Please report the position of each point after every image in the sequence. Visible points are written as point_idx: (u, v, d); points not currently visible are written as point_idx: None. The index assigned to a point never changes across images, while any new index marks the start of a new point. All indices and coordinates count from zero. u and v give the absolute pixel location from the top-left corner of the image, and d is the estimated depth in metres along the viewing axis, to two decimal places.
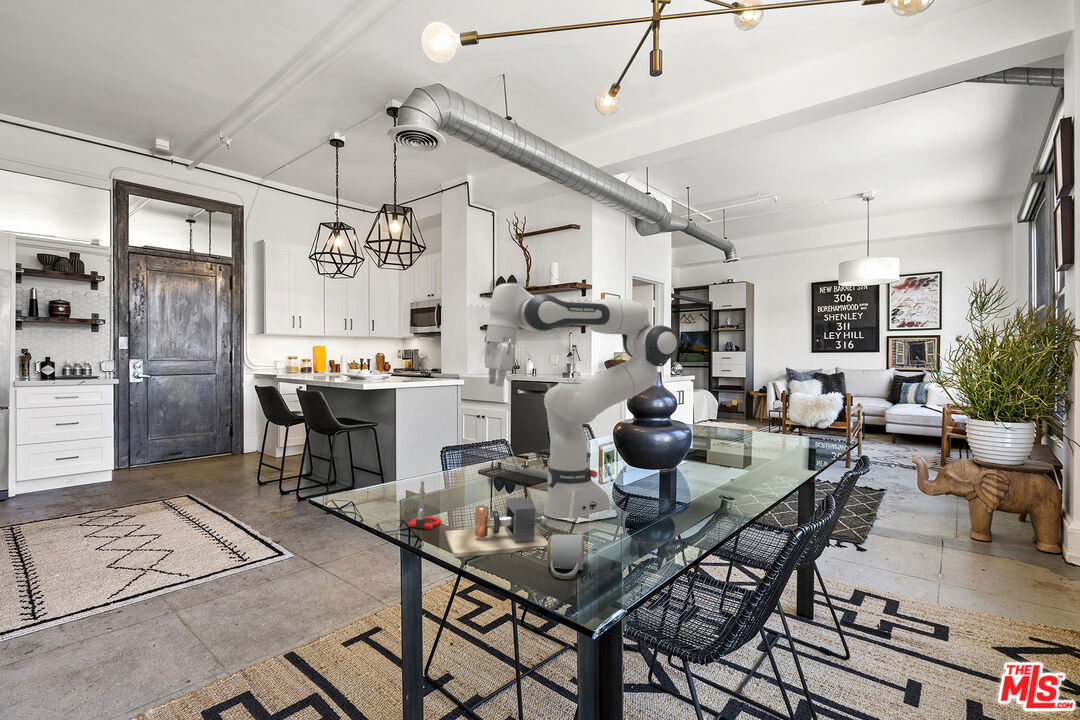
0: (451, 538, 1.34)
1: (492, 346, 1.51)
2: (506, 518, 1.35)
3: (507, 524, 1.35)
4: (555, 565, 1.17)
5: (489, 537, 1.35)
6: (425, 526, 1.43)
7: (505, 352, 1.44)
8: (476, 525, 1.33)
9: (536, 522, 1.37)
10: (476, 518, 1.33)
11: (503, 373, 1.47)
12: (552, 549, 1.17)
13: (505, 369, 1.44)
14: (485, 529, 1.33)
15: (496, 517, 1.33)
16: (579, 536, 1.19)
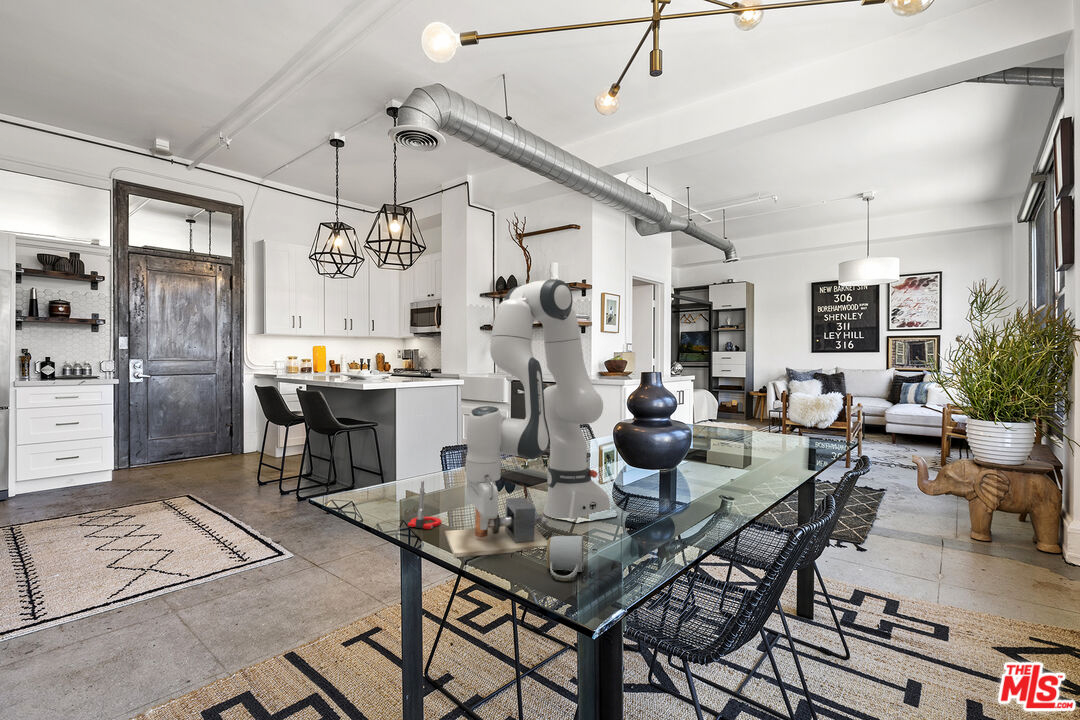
0: (451, 538, 1.34)
1: (473, 484, 1.32)
2: (506, 518, 1.35)
3: (507, 524, 1.35)
4: (554, 567, 1.16)
5: (489, 537, 1.35)
6: (425, 526, 1.43)
7: (487, 498, 1.24)
8: (476, 525, 1.33)
9: (536, 522, 1.37)
10: (476, 518, 1.33)
11: None
12: (551, 550, 1.16)
13: (489, 518, 1.25)
14: None
15: None
16: (579, 538, 1.18)
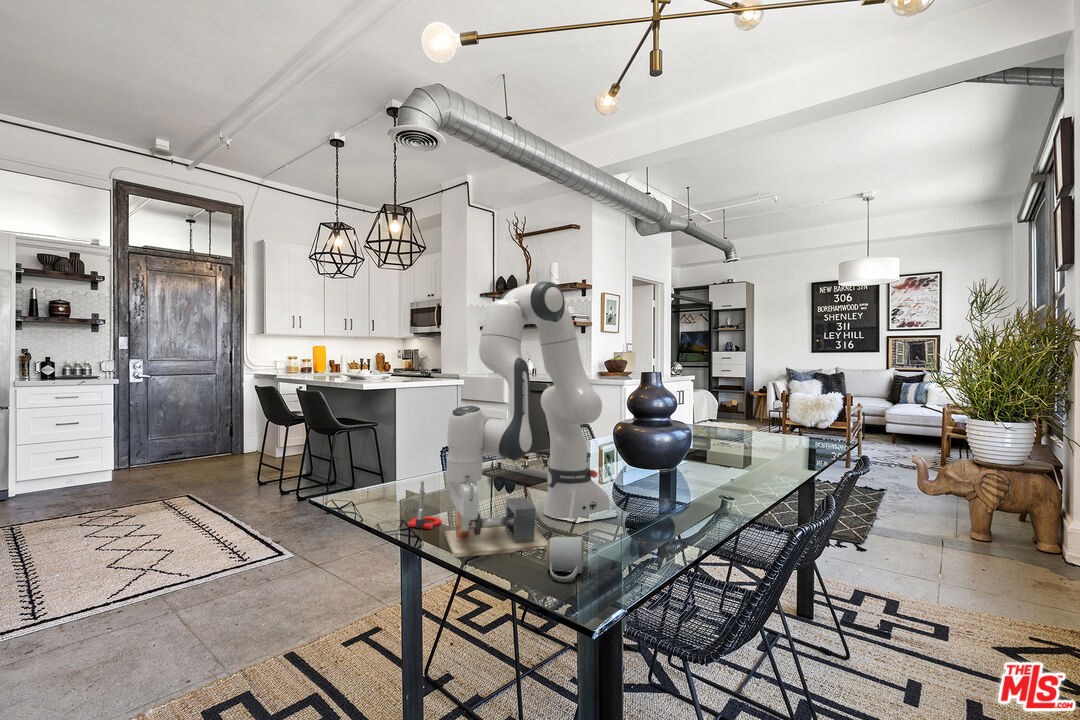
0: (451, 538, 1.34)
1: (454, 485, 1.30)
2: (488, 519, 1.34)
3: (489, 525, 1.33)
4: (554, 568, 1.16)
5: (489, 537, 1.35)
6: (425, 526, 1.43)
7: (467, 499, 1.23)
8: (457, 526, 1.31)
9: None
10: (457, 519, 1.32)
11: None
12: (551, 551, 1.16)
13: (469, 519, 1.23)
14: (466, 531, 1.31)
15: (477, 518, 1.32)
16: (579, 538, 1.17)
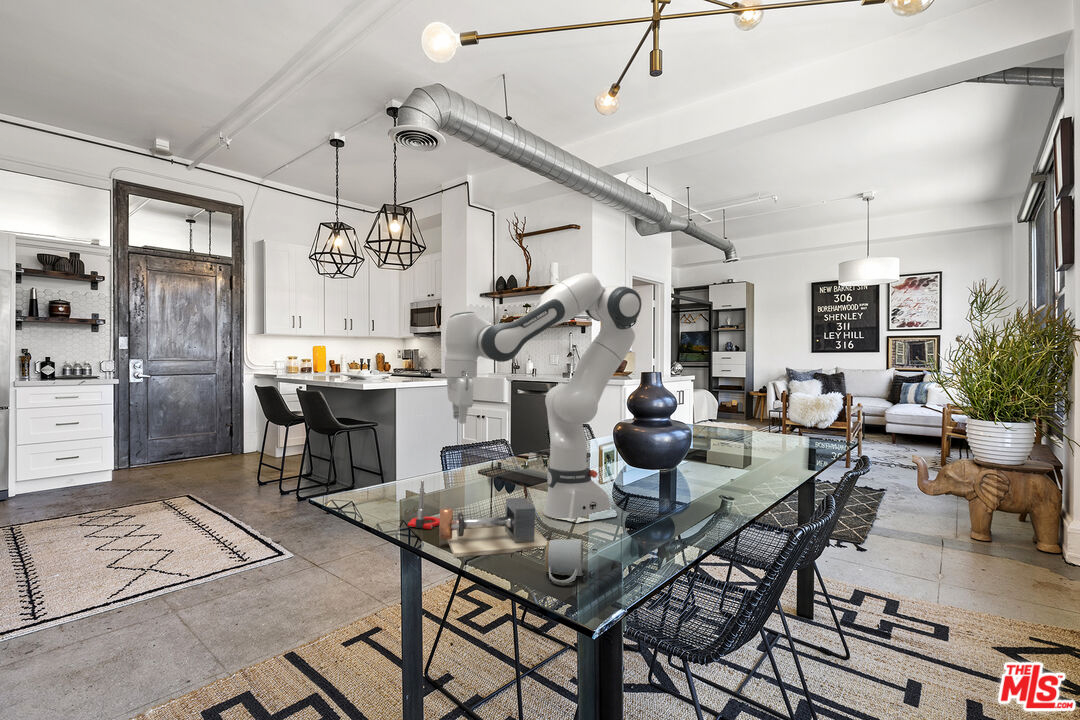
0: None
1: (451, 381, 1.43)
2: (471, 520, 1.33)
3: (472, 527, 1.32)
4: (553, 571, 1.14)
5: (489, 537, 1.35)
6: (425, 526, 1.43)
7: (463, 388, 1.36)
8: (440, 528, 1.30)
9: (503, 524, 1.35)
10: (440, 520, 1.30)
11: (464, 409, 1.40)
12: (550, 554, 1.14)
13: (465, 406, 1.36)
14: (450, 532, 1.30)
15: (461, 519, 1.30)
16: (578, 541, 1.16)
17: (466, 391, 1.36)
